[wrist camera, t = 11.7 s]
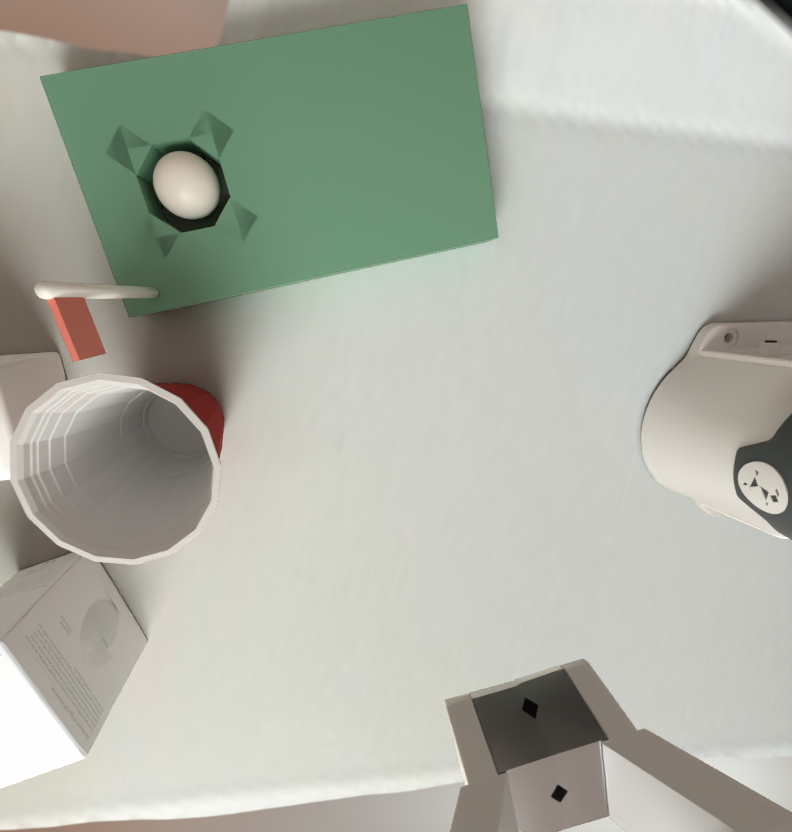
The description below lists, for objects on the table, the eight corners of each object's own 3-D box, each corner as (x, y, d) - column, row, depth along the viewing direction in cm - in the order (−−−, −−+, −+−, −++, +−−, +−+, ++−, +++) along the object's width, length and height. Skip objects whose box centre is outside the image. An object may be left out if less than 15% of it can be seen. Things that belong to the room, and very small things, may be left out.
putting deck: (454, 31, 31) (561, -196, 17) (487, 266, 36) (595, 246, 21) (67, 98, 29) (-187, -95, 15) (155, 339, 33) (25, 372, 19)
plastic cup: (166, 317, 33) (80, 328, 22) (283, 409, 36) (262, 462, 25) (78, 425, 34) (-49, 491, 23) (199, 506, 37) (141, 600, 26)
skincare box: (13, 571, 36) (-106, 676, 26) (91, 544, 37) (3, 637, 27) (78, 668, 39) (-7, 795, 29) (150, 642, 40) (90, 759, 30)
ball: (216, 140, 28) (148, 141, 26) (235, 207, 30) (172, 214, 27) (200, 162, 32) (139, 164, 30) (219, 222, 33) (161, 228, 31)
